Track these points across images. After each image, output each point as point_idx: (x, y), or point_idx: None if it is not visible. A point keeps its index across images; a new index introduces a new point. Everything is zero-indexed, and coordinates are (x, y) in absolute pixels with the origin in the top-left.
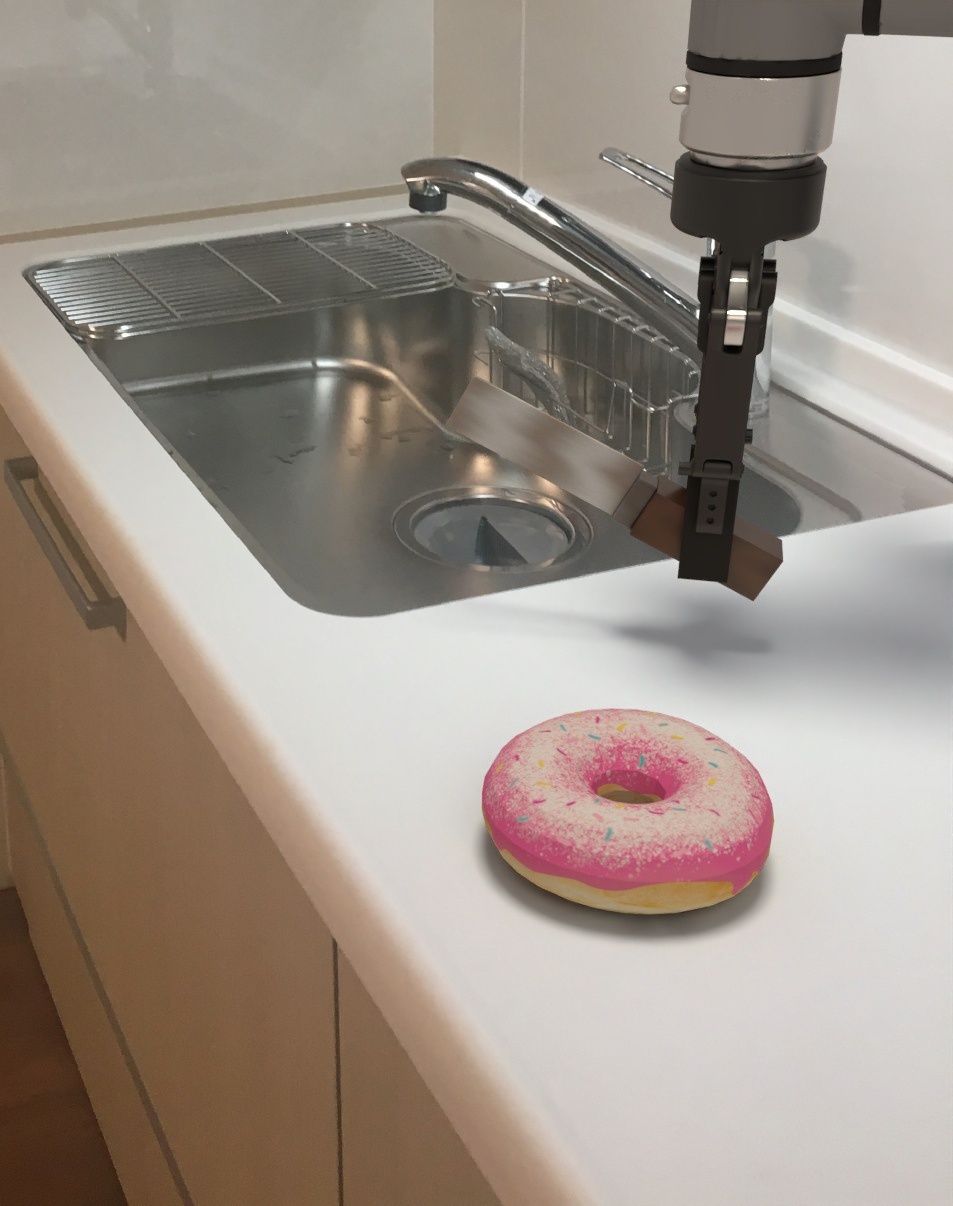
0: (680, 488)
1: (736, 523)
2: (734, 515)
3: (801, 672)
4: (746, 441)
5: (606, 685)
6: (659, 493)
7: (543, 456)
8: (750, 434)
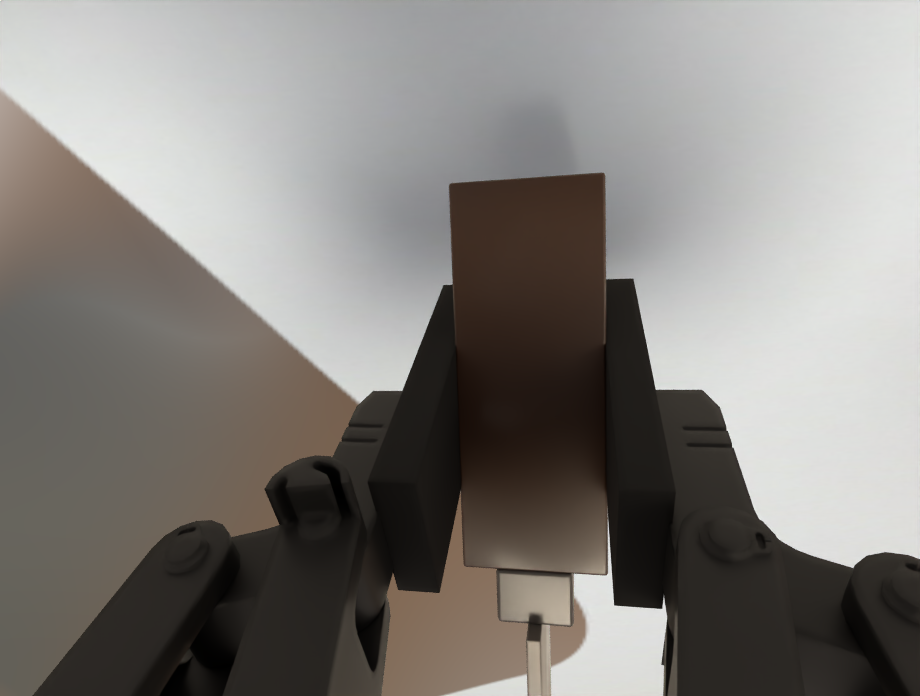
0: (485, 506)
1: (515, 333)
2: (653, 390)
3: (639, 28)
4: (353, 487)
5: (745, 364)
6: (599, 569)
7: None
8: (315, 491)
